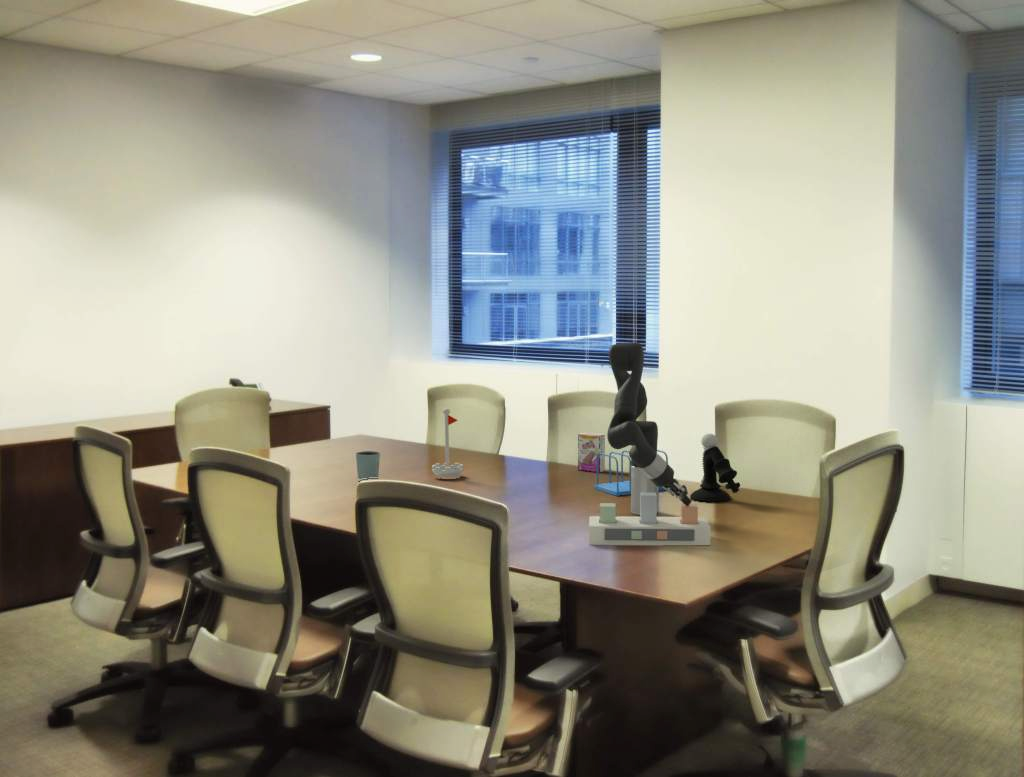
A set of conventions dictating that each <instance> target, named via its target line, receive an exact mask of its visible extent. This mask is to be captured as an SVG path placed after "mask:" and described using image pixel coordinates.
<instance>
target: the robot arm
mask: <svg viewBox="0 0 1024 777" xmlns="http://www.w3.org/2000/svg"><path fill="white" fill-rule="evenodd" d="M608 359H609V360H608V361H609V364H610V367H611V370H612V374H613V376H614V379H615V382H616V387H617V393H616V394H615V398H614V407H613V408H614V409H613V415H612V418H611V421H610V422H609V426H608V429H607V434H606V436H607V438H606V439H607V442H608V444H609V445H610V447H611V448H613V449H615V450H621V449H624V448H626V447H629V446H631V448H630V449H629V450H628V451H629V453H628V454H629V455H628V456H629V457H630V460H631V494H630V512H631V514H633V515H637V516H640V492H646V493H656V495H657V513H659V510H660V509H659V508H660V506H659V504H660V502H659V501H660V499H659V496H660V495H659V494H660V492H659V487H662V488H663V489H664V490H663V491H666V492H667V493H668V494H670V495H671V496H673V497H675V498H676V499H678V500H679V501H680V502H681V504H684V505H687V506H689V504H692V500H691V499H690V496H689V497H688V494H689V493H688V489H687V486H686V485H684V484H682V485H681V484H680V482H679V480H678V479H677V478H674V476H675V470H674V469H673V468H672V467H671V466H670V465H669V463H668V464H667V463H666V459H664V458H663V457H662V456H661V455H660V454H659V453H658V451H657V450H658V440H659V438H658V437H659V436H658V435H659V428H658V424H657V422H655V421H651V420H649V421H648V420H647V421H646V420H637V419H638V418H639V417H640V416H641V415H642V414H643V412H644V411H645V410H646V408H647V405H648V396H647V392H646V387H645V385H643V383H642V381H641V380H642V375H643V369H644V365H645V363H644V362H645V353H644V347H643V346H642V344H641V343H640V342H626V343H625V342H623V343H621V342H620V343H615V344H612V345H611V346H610V347H609V349H608ZM629 372H631V373H629Z"/></svg>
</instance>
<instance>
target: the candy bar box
mask: <svg viewBox="0 0 1024 777" xmlns="http://www.w3.org/2000/svg"><path fill="white" fill-rule="evenodd" d="M605 438H606V434H602V433H600V434H599V433H592V432H590V433H589V432H581V433H578V434H577V470H578V471H582V472H589V471H591V472H590V473H597V467H596V457H597V454H598V453H603V454H606V450H605V449H606V445H605V443H606V440H605ZM605 457H606V456H604V455H600V454H599V456H598V474H600V472H601V473H603V472H605V471H606V465H605V464H606V460H605V459H606V458H605Z"/></svg>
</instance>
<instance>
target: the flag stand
mask: <svg viewBox="0 0 1024 777" xmlns="http://www.w3.org/2000/svg"><path fill="white" fill-rule="evenodd" d="M450 412H451V410H450V409H449V408H448V407H445V408H443V410H442V414H444V439H445V440H444V444H445V445H444V446H445V447H444V448H445V449H444V450H445V451H444V452H445V453H444V454H445V462H443V464H442V465H441V463H439V462H438V463H434V464H432V466H431V470H432V472H433V473H434V476H435V475H436V476H439V477H458V476H460V477H461V473H462V472H463V468H464V466H463V464H462V463H461V464H460V463H459V462H454V463H453V464H451V462H450V444H449V443H450V442H449V441H450V438H449V436H450V435H449V432H450V431H449V429H450V428H449V426H450V425H451V424H453V423H456V422H458V421H459V420H458V419H457V418H455V417H452V416H451V415H450Z"/></svg>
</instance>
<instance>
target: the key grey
mask: <svg viewBox="0 0 1024 777" xmlns="http://www.w3.org/2000/svg"><path fill="white" fill-rule="evenodd" d="M657 514H658V512H657V495H656V493H646V492H640V515H639V517H640V524H657V517H658V516H657Z"/></svg>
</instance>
